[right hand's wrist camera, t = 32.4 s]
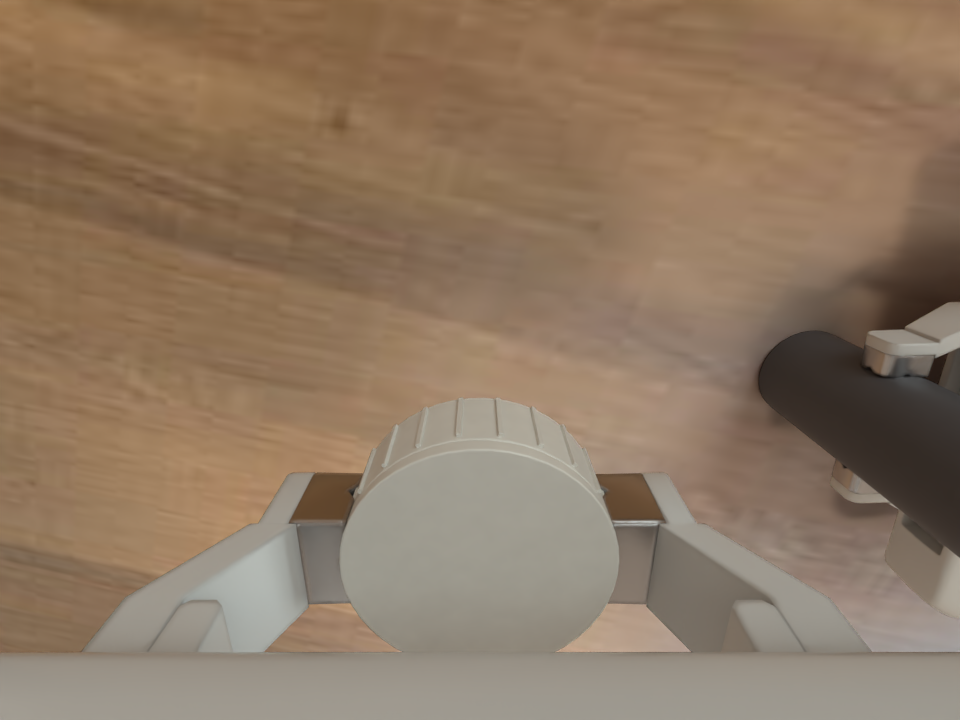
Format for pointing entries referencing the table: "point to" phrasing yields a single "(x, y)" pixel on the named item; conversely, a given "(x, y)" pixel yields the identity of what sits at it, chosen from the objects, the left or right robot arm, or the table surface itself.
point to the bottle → (874, 425)
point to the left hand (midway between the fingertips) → (855, 420)
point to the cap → (479, 533)
